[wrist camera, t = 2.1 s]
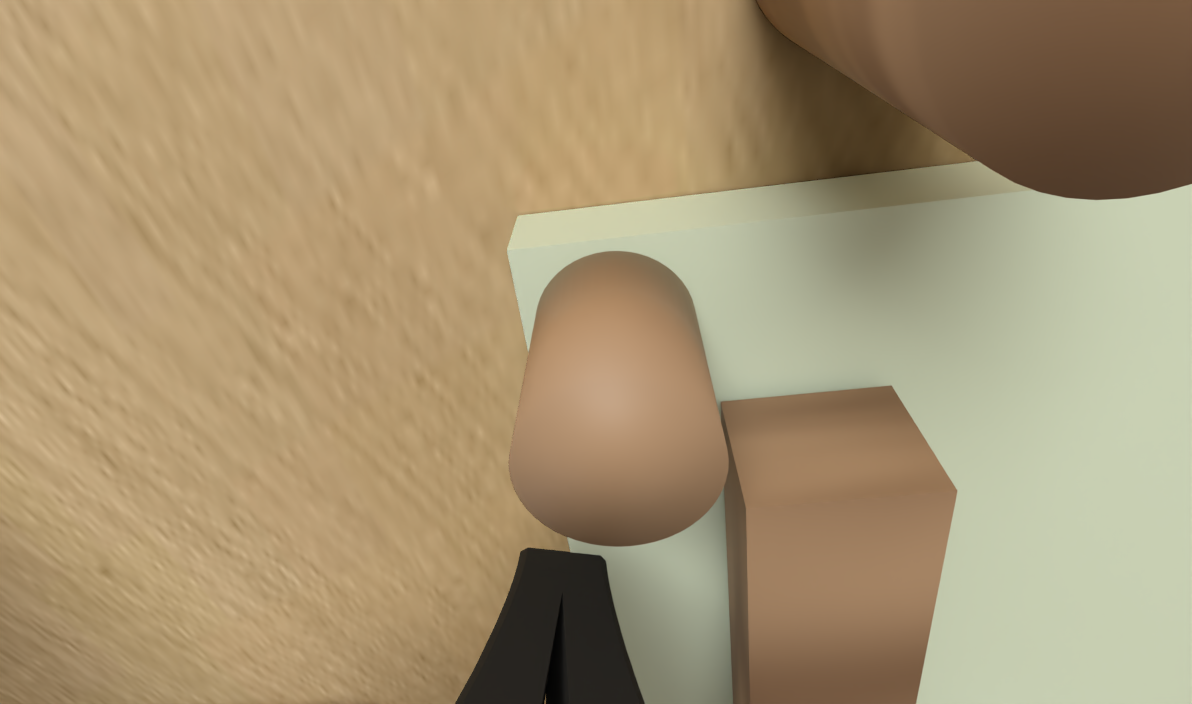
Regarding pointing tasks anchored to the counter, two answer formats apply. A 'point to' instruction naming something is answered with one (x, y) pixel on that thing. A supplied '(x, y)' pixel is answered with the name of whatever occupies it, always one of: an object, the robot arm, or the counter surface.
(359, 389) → the counter surface
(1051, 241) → the board
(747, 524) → the hinged leg
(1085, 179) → the leg peg
